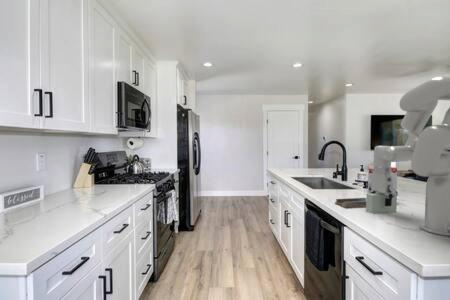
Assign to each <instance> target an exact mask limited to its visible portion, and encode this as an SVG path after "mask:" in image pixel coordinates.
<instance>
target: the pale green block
mask: <svg viewBox="0 0 450 300" xmlns="http://www.w3.org/2000/svg"><path fill="white" fill-rule="evenodd" d="M388 195H389V194H388ZM365 198H366V208H365V211H366V212H368V213H370V214H383V213H385V214H386V212H387V213H397V209H398V208H397V205H398V204H397V203H398V194H397V193H396V194H395V196H394V197H393V198H392V205H391V206H385V198H386V196H385V194H383V193H375V194H368V193H366V196H365Z"/></svg>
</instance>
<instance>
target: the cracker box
mask: <svg viewBox="0 0 450 300" xmlns="http://www.w3.org/2000/svg"><path fill="white" fill-rule="evenodd" d="M373 168H374V165H368V170H367V172H368V175H367V185H368V184H369V183H371V179H372V174H373ZM391 174H392V177H393V188H394V189H395V190H396V191H397V183H398V182H397V180H398V177H397V176H398V168H397V167H396V166H391ZM376 193H380V192H376ZM367 194H371V193H370V190H369V187H368V186H367ZM395 194H397V192H396V193H395Z"/></svg>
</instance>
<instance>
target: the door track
mask: <svg viewBox="0 0 450 300" xmlns="http://www.w3.org/2000/svg"><path fill="white" fill-rule="evenodd" d="M334 204H335V205H337V206H339V207H342V208H343V209H360V208H361V209H362V208H363V209H364V208H365V209H366V197H353V198H352V197H350V198H336V199H335V202H334Z"/></svg>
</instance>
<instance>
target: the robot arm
mask: <svg viewBox="0 0 450 300" xmlns="http://www.w3.org/2000/svg"><path fill="white" fill-rule="evenodd" d="M439 101H450V76H435V77H432V78H431V79H428V80H426V81H424V82H422V83H421V84H419V85H417V86H416V87H414V88H412V89H410V90H409V91H407V92H406V93H404V94H403V95H402V96H401V98H400V100H399V103H398V105H399V108H400V109H401V110H402V111H403V112H406V113H405V115H404V117H403V118H402V120H401V122H400V127H401V129H403V130H404V131H407V133H408V138H407V140H406V142H405V143H404V145H391V146H390V145H376V146H374V151H373V166H374V168H373V174H372V179H371V183H369V184H368V183H367V188H368V187H369V190H370V193H371V194H375V193H376V192H380V193H383V194H385V196H386V198H385V206H391V205H392V198H393V197H394V196H395V193H396V194H397V189H396V190H395V189H394V188H393V177H392V174H391V167H392V163H397V162H398V163H400V162H403V163H405V162H410V167H411V170H412V171H413V173H414V174H415V175H417V176H420V177H424V178H425V177H428V178H427V181H426V182H425V183H426V185H425V201H424V202H425V204H424V207H425V208H424V222H421V223H420V224H419V228H420V229H422V230H423V231H425V232H427V233H431V234H436V235H441V236H447V237H449V236H450V152H448V151H450V107H448V108H447V110H446V112H445V114H444V117H443V120H442V122H441V124H433V125H430V126H427V127H426V128H425V126H426V124H427V123H428V121H429V119H430V117H431V116H432V114H433V112H434V111H435V109H436V107H437V105H438V103H439ZM388 194H389V195H388Z"/></svg>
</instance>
